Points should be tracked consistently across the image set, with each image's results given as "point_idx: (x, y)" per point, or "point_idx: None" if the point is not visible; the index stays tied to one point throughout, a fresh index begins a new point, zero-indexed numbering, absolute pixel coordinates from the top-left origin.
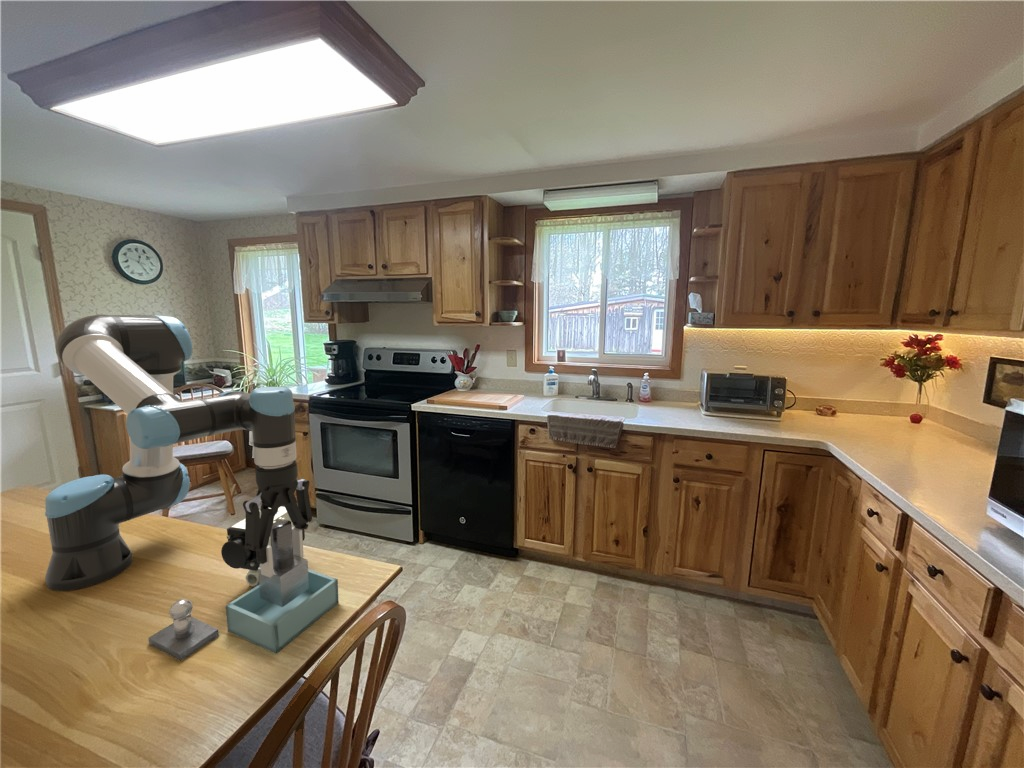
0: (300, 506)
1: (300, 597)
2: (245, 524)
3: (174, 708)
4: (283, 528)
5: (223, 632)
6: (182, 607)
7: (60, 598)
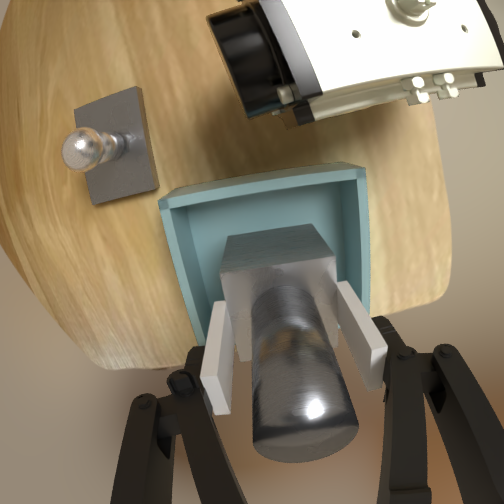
0: (456, 421)
1: (320, 224)
2: (112, 491)
3: (81, 288)
4: (289, 462)
5: (169, 183)
6: (74, 169)
7: None
